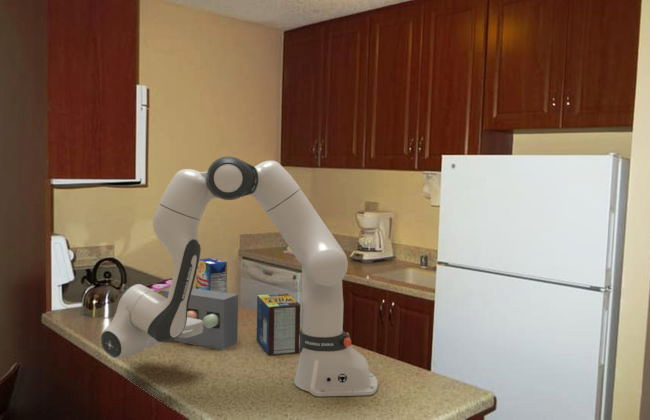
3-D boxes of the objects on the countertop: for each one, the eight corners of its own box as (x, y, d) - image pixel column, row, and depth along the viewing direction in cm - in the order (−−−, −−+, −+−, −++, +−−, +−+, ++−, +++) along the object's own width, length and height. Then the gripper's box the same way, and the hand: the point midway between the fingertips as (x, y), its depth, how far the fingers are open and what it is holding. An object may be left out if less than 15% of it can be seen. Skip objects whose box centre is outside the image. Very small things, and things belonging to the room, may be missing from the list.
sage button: (221, 325, 178) (221, 313, 178) (213, 329, 175) (213, 316, 174) (210, 324, 180) (210, 311, 180) (202, 327, 176) (203, 314, 176)
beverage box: (209, 324, 204) (210, 264, 202) (195, 317, 212) (196, 259, 211) (226, 321, 208) (227, 262, 207) (211, 314, 217) (212, 257, 215)
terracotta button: (200, 322, 182) (200, 310, 181) (192, 325, 178) (192, 313, 178) (189, 320, 183) (189, 308, 183) (182, 323, 180) (182, 311, 179)
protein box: (286, 338, 191) (287, 292, 189) (300, 353, 176) (301, 304, 175) (255, 340, 187) (256, 294, 186) (267, 356, 173) (268, 306, 171)
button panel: (237, 342, 184) (238, 294, 183) (223, 349, 177) (224, 299, 176) (177, 332, 194) (177, 286, 192) (162, 338, 186) (162, 290, 185)
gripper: (185, 323, 148) (215, 311, 161) (125, 311, 156) (158, 301, 169) (184, 346, 149) (215, 333, 161) (124, 334, 157) (158, 322, 170)
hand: (185, 316), depth 165 cm, fingers closed
